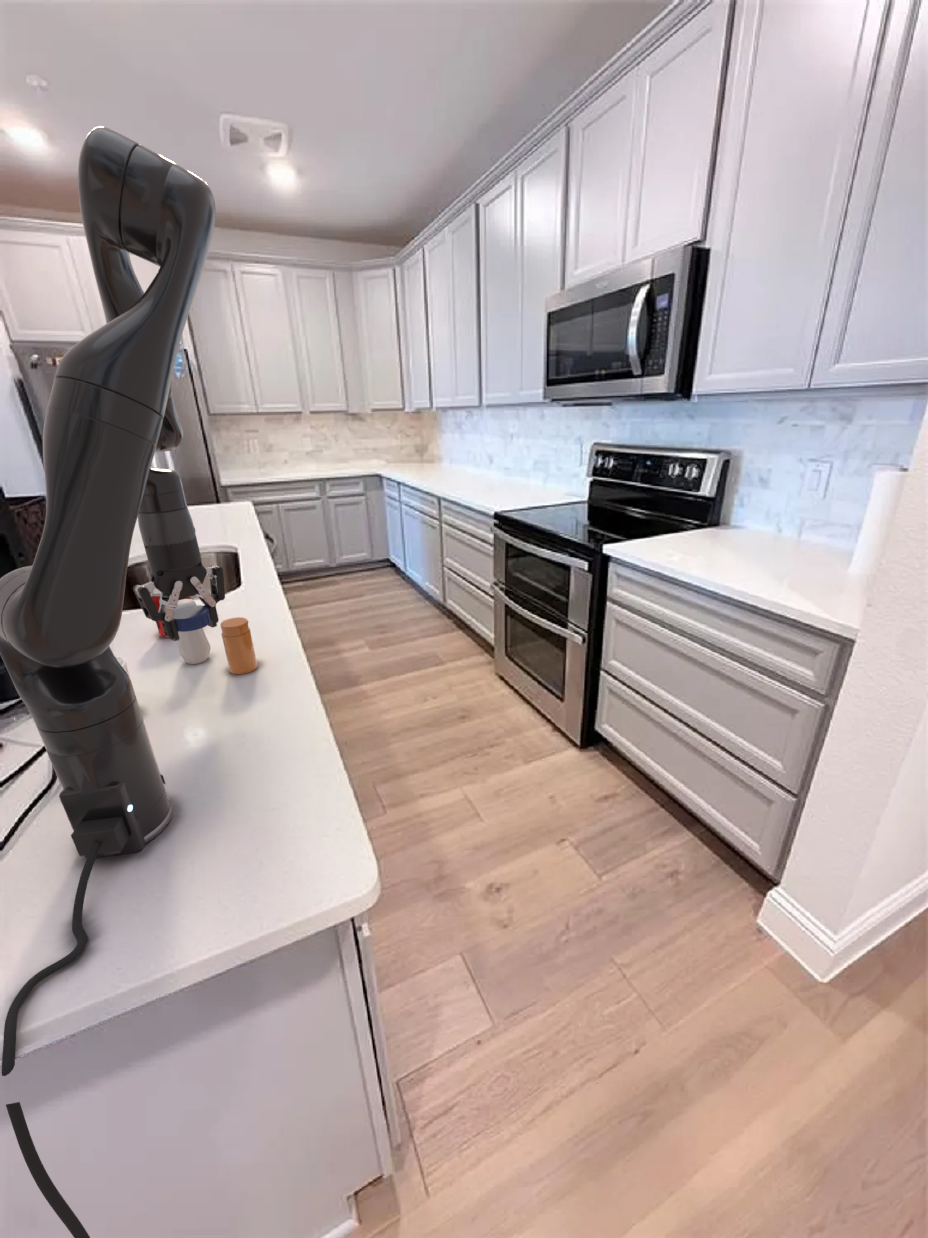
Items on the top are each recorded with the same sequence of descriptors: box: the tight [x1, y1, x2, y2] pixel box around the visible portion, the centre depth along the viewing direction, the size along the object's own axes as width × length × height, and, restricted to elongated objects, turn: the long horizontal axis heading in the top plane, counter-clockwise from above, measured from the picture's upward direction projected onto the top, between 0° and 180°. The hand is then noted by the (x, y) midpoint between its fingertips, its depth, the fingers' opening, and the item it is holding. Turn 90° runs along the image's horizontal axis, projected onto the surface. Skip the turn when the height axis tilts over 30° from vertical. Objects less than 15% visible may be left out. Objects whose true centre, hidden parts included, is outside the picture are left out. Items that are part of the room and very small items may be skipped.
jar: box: [220, 616, 258, 675], centre depth 99 cm, size 5×5×10 cm
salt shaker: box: [174, 598, 212, 665], centre depth 103 cm, size 6×6×13 cm
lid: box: [172, 604, 212, 632], centre depth 87 cm, size 6×6×2 cm
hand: (193, 632), depth 88 cm, fingers closed on lid, 6 cm apart
